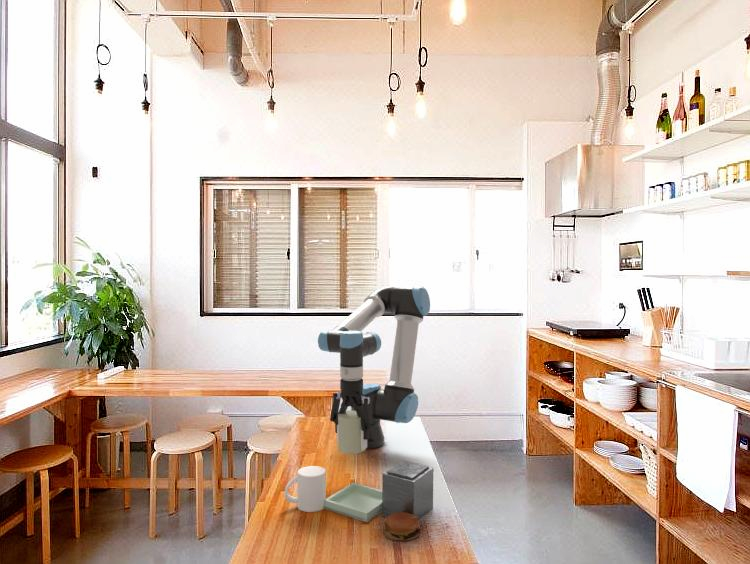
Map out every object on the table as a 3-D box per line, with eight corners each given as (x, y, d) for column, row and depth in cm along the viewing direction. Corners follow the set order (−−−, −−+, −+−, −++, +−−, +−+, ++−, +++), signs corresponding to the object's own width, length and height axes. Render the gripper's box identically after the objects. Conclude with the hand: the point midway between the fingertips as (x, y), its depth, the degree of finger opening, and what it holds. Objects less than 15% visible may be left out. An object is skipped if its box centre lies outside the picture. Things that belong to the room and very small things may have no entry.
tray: (353, 490, 163) (353, 482, 163) (394, 502, 155) (394, 493, 155) (323, 508, 150) (323, 500, 150) (366, 522, 142) (366, 513, 142)
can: (362, 455, 166) (362, 418, 165) (334, 452, 168) (334, 416, 167) (368, 444, 175) (368, 409, 174) (342, 442, 177) (341, 408, 176)
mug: (326, 475, 148) (283, 477, 146) (326, 511, 148) (283, 513, 147) (325, 465, 156) (285, 466, 155) (325, 499, 156) (284, 500, 155)
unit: (403, 499, 156) (404, 458, 156) (433, 508, 151) (434, 465, 151) (382, 516, 146) (382, 471, 146) (413, 525, 141) (413, 479, 140)
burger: (376, 531, 138) (376, 513, 138) (404, 522, 143) (404, 505, 143) (399, 548, 130) (399, 529, 129) (427, 537, 135) (427, 520, 135)
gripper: (318, 376, 173) (319, 443, 174) (373, 384, 161) (373, 456, 162) (332, 372, 179) (332, 436, 180) (385, 380, 168) (385, 448, 169)
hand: (352, 445), depth 171 cm, fingers closed on can, 9 cm apart
